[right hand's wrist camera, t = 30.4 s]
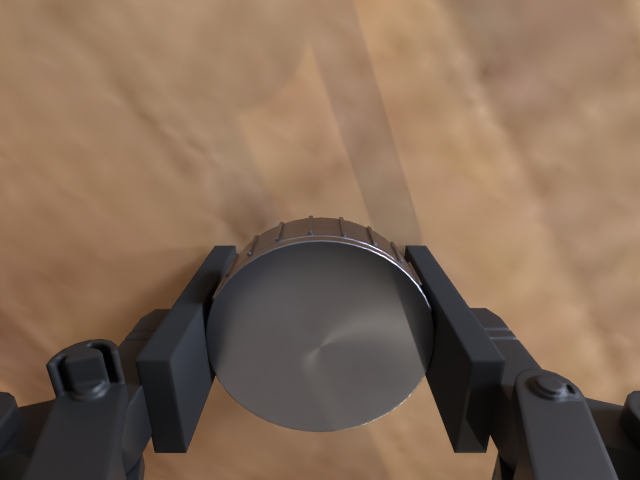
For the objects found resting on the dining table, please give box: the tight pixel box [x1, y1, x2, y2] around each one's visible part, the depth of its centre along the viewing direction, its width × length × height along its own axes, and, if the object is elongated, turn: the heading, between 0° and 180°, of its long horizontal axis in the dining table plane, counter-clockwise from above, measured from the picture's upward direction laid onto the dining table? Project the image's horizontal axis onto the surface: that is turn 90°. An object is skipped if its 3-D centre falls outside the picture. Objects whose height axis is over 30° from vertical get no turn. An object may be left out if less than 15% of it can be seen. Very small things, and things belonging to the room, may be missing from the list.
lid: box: [206, 216, 435, 432], centre depth 11 cm, size 7×7×2 cm
